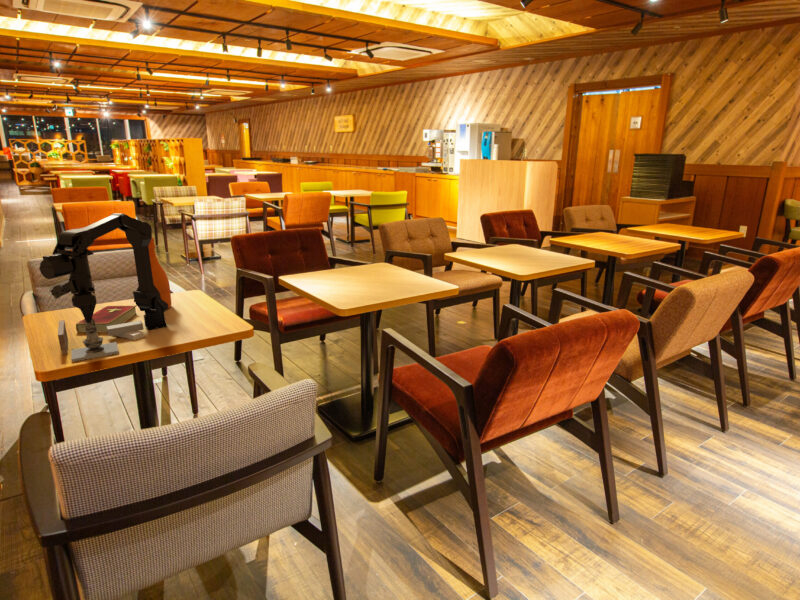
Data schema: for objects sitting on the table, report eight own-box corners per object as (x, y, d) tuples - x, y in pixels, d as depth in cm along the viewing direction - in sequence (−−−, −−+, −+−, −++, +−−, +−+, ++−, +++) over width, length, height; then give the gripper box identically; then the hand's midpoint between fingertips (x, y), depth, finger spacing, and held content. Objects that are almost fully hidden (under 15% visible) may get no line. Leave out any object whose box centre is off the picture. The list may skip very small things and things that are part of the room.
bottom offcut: (122, 332, 182) (121, 326, 182) (144, 338, 177) (143, 331, 177) (111, 336, 179) (110, 330, 178) (134, 341, 174) (133, 335, 173)
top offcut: (107, 332, 176) (106, 326, 175) (141, 326, 182) (140, 320, 181) (108, 335, 173) (107, 329, 172) (143, 329, 179) (142, 323, 178)
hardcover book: (77, 333, 181) (74, 322, 180) (107, 315, 201) (106, 305, 200) (110, 333, 181) (108, 322, 180) (137, 314, 201) (136, 304, 200)
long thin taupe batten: (68, 338, 175) (64, 320, 173) (67, 354, 162) (63, 334, 160) (62, 339, 174) (58, 320, 172) (62, 355, 161) (57, 335, 159)
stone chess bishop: (95, 354, 159) (88, 319, 156) (80, 352, 161) (73, 317, 157) (109, 347, 165) (103, 313, 161) (94, 346, 166) (87, 312, 162)
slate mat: (116, 344, 170) (116, 341, 170) (118, 353, 163) (118, 350, 162) (72, 352, 163) (71, 349, 163) (71, 362, 156) (71, 359, 156)
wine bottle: (151, 304, 212) (141, 235, 203) (175, 304, 213) (166, 235, 204) (142, 312, 203) (131, 239, 194) (167, 311, 204) (157, 239, 195)
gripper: (49, 268, 158) (59, 314, 163) (47, 281, 143) (57, 332, 148) (90, 264, 164) (98, 309, 168) (91, 276, 149) (100, 325, 153)
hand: (88, 318), depth 159 cm, fingers open, 9 cm apart
